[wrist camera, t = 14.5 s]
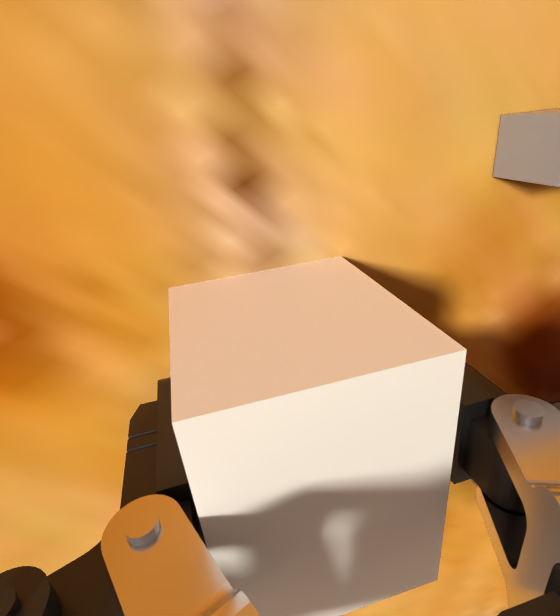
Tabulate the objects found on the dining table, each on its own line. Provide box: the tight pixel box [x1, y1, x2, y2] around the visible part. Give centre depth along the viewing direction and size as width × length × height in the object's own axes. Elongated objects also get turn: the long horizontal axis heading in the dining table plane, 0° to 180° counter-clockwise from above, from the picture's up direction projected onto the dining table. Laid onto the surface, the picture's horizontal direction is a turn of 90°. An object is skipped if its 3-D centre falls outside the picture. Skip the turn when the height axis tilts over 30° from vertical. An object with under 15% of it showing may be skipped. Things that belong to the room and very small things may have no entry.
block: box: [169, 256, 467, 616], centre depth 9 cm, size 4×6×5 cm
